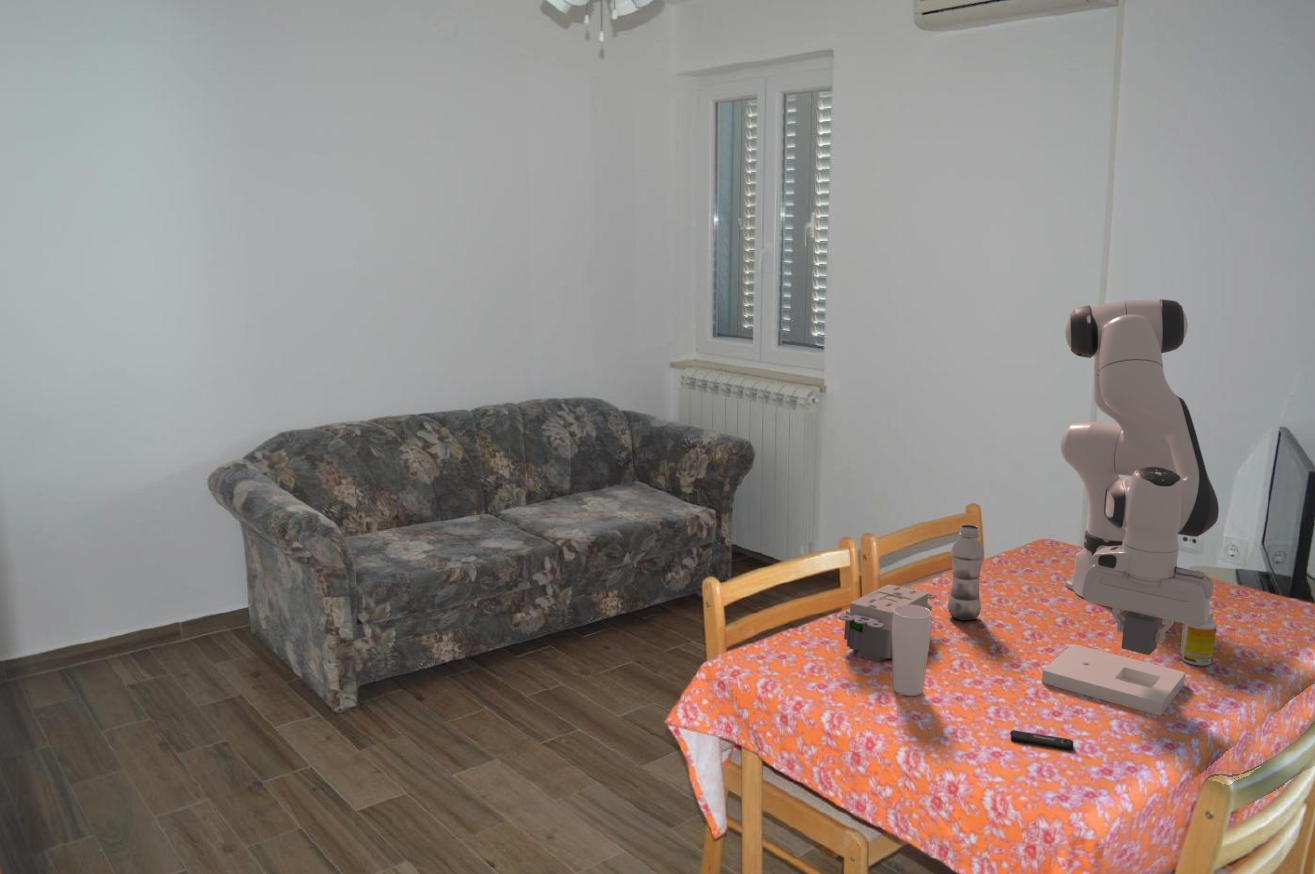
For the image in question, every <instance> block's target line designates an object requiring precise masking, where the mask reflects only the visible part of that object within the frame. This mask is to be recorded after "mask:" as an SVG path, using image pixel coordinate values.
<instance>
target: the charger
mask: <svg viewBox="0 0 1315 874" xmlns="http://www.w3.org/2000/svg"><path fill="white" fill-rule="evenodd" d="M1123 619H1124V628H1123V633H1122V638H1121V639H1122V640H1121V650H1126V651H1130V652H1134V653H1138V654H1141V655H1146V656H1150V655H1151V654H1152V653H1153V652H1154V651H1155V650H1156V649H1157V648H1158V647H1157V646H1158V642H1156V641H1153V638H1154V631H1156V629H1158V630H1160V621H1161V618H1157V617H1153V616H1148V615H1144V614H1140V613H1135V612H1131V611H1128V613H1127V614H1125V615H1124V618H1123Z"/></svg>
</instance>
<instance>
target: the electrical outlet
mask: <svg viewBox="0 0 1315 874" xmlns="http://www.w3.org/2000/svg"><path fill="white" fill-rule="evenodd" d="M937 597H938V596H937V594H934V593H931V592H927V591H920V590H918V589H917V590H916V589H914V588H913V589H912V588H907V587H903V586H900V585H899V586H898V585H894V584H885V585H884V586H882V587H879V588H878V589H876V590H874V591H871V592H870V593H868V594H865V595H862V596H861V597H859V598H856V599H855V600H853V601H851V602H850V606H849V608H848V609H845V614H841V615H838V617H837V618H838V619H839V620H841V621H845V622H844V635H843V637H844V638H843V639H844V640H845V641H846V647H848V648H849V649H850V650H853V651H854V650H856V652H857V653H858V655H859V656H860V657H862V658H865V659H868V660H873V661H876V662H881V661H882V660H886V659H892V615H893V609H894V608H895V607H896V606H899V605H917V606H922V607H925V608H927V609H929V610H930V611H931V612H932V610H933V607H932V604H931V603H930V602H929V601H928V599H935V598H937Z"/></svg>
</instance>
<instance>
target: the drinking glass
mask: <svg viewBox="0 0 1315 874" xmlns="http://www.w3.org/2000/svg"><path fill="white" fill-rule="evenodd" d="M932 614H933V613H932V611H930V610H929V609H927V608H925V607H922V606H917V605H899V606H896V607H895V608H894V609H893V615H892V658H891V659H892V689H893V690H894V692H896V693H897V694H899V695H902V696H906V697H916V696H920V695H921V694H922V693H923V691H924V686H925V685H924V684H925V676H926V668H927V662H928V656H929V649H930V643H931V635H932V623H933V622H932V621H933V620H932V616H933V615H932Z"/></svg>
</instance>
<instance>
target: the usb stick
mask: <svg viewBox="0 0 1315 874" xmlns="http://www.w3.org/2000/svg"><path fill="white" fill-rule="evenodd" d="M1009 735H1010V741H1011V742H1014V743H1020V744H1025V745H1030V746H1031V745H1032V746H1037V747H1043V748H1050V749H1054V750H1061V751H1068V752H1071V751H1074V740H1072V739H1070V738H1064V737H1059V736H1053V735H1046V734H1040V733H1039V734H1038V733H1033V732H1028V731H1027V732H1026V731H1020V730H1016V729H1013V730H1011V731H1010V734H1009Z"/></svg>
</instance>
